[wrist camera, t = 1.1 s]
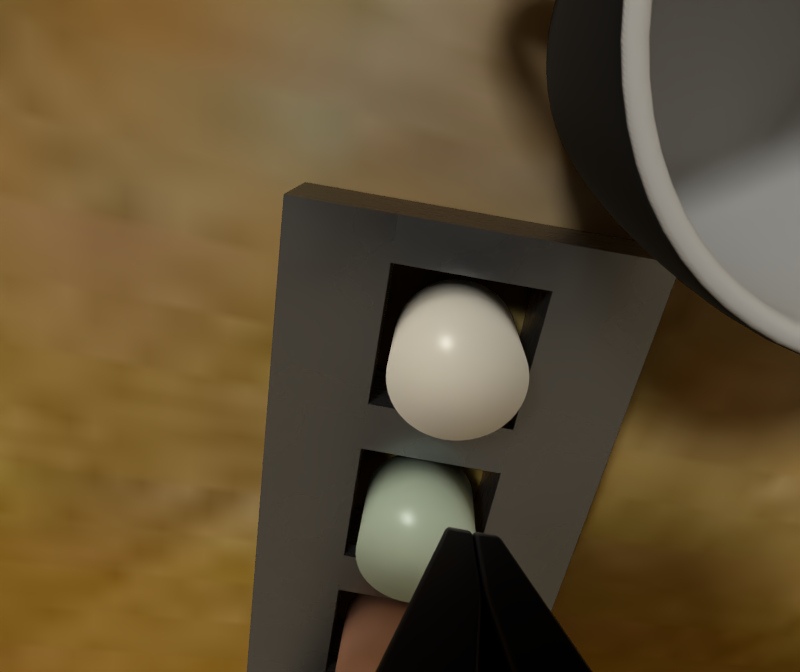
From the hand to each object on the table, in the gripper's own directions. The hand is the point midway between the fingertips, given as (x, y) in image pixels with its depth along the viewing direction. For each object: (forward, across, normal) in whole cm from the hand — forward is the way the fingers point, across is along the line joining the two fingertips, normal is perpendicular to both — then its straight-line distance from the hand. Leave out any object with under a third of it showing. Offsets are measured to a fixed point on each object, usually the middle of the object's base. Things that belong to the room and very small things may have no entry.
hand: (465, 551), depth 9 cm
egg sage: (+9, 0, +6) cm, 10 cm away
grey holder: (+10, 0, +6) cm, 12 cm away
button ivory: (+9, 0, 0) cm, 9 cm away
